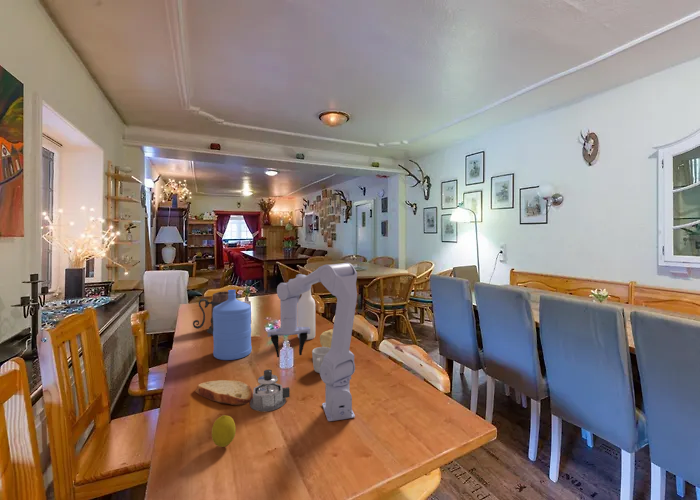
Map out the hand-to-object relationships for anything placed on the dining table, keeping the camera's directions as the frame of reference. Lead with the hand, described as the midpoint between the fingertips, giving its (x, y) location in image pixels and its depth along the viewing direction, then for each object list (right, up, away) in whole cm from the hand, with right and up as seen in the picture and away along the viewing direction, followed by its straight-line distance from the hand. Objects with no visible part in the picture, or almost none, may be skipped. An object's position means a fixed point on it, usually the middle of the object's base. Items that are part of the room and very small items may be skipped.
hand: (289, 355), depth 113 cm
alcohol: (-1, -8, +51) cm, 51 cm away
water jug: (-30, -9, +28) cm, 42 cm away
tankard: (-50, -7, +62) cm, 80 cm away
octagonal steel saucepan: (-3, -10, -11) cm, 16 cm away
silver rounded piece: (-4, -8, -12) cm, 15 cm away
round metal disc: (-4, -11, -11) cm, 16 cm away
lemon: (-10, -12, -33) cm, 36 cm away
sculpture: (+15, -9, +29) cm, 34 cm away
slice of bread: (-20, -11, -7) cm, 24 cm away
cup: (+10, -10, +10) cm, 18 cm away
